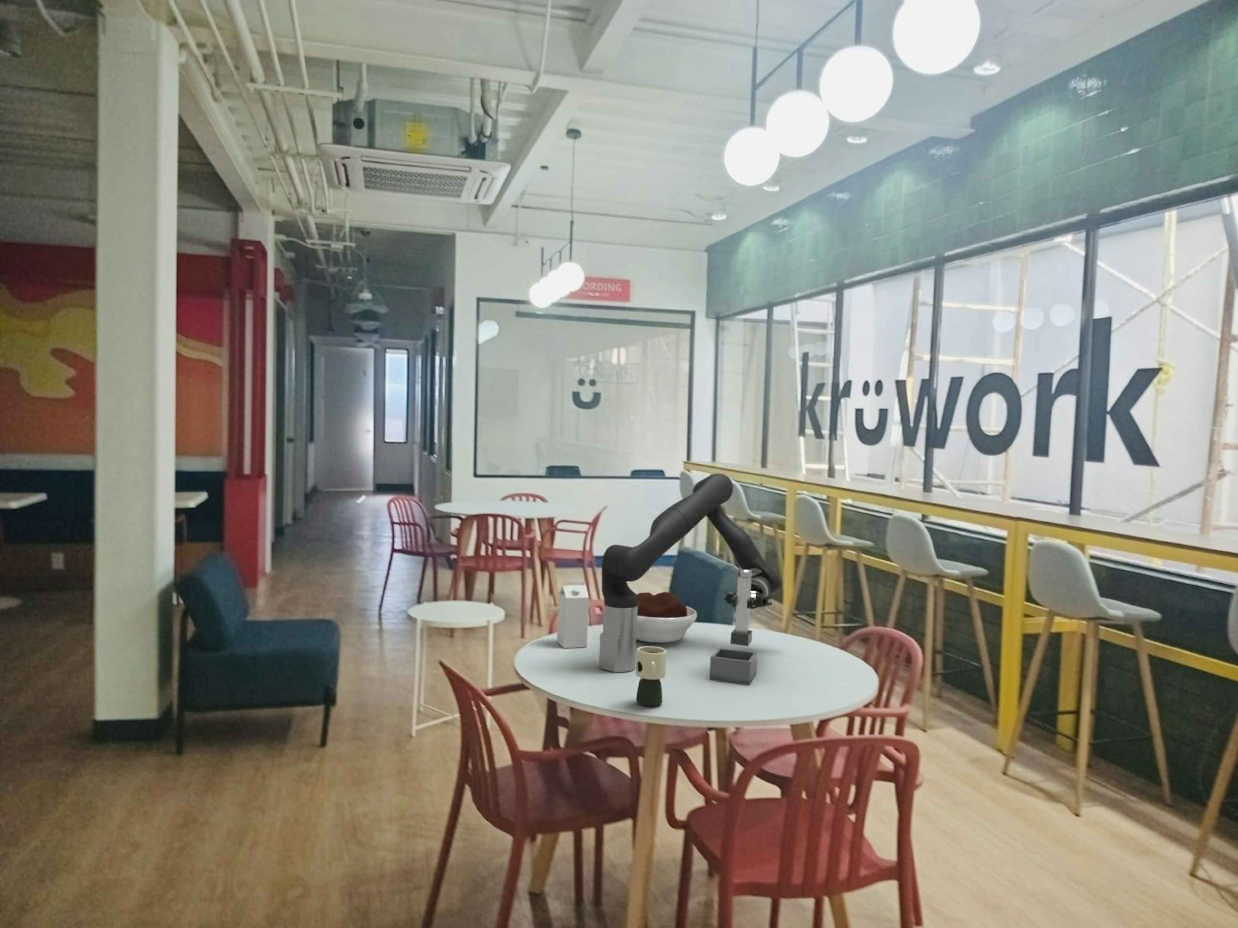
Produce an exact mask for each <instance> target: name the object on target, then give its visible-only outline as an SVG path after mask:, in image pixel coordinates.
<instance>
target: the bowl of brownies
mask: <svg viewBox="0 0 1238 928" xmlns="http://www.w3.org/2000/svg"><path fill="white" fill-rule="evenodd" d="M636 594H637V596H638V615H637V636H636V641H637V640H638V641H641V642H647V643H651V644H664V643H672V642H677V641H680V640H682V639H683V638H684V637H685V635H686V633H687V631H688V629H689V628H690V627H692V625H694V622H695V621H696V619H697V617H698V613H697V611H696V610H695V609H694V608H692V607H689V606H687V605H684V604H682V602H680V599H679V597H678V596H677V595H675V594H671V593H670V592H668V591H662V592H658V593H656V594H654V595H653V594H652V592H639V593H636Z"/></svg>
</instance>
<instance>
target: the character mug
mask: <svg viewBox="0 0 1238 928" xmlns="http://www.w3.org/2000/svg"><path fill="white" fill-rule="evenodd" d="M666 668H667V650H666V649H665V648H663V647H660V646H654V645H653V646H652V645H650V646H649V645H648V646H647V645H646V646H645V645H644V646H639V647H636V657H635V676H637V677H638V678H640V679H639V681H638V685H637V690H636V691H637V692H636V698H635V700H636V703H637V704H639V705H642V706H643V705H644V706H645V705H646V706H649V707H651V706H652V705H660V704H662V703H663V689H662V682H661V679H664V678H665V676H666Z"/></svg>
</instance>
